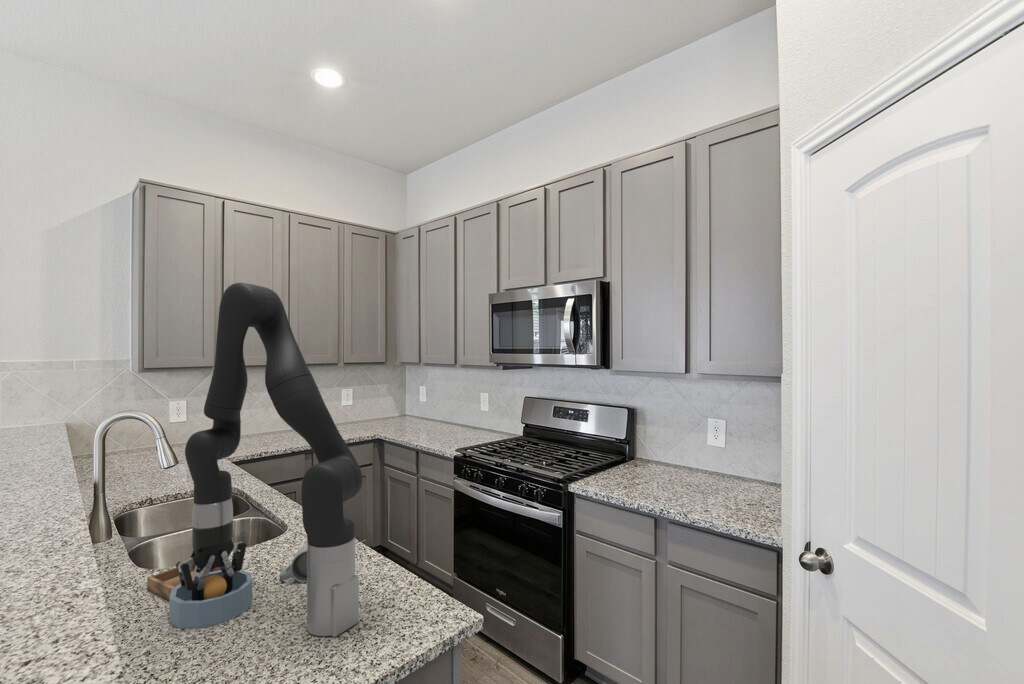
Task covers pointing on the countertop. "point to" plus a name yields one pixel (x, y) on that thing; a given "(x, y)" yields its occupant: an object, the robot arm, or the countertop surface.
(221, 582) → the ball
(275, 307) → the robot arm
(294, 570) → the ceramic mug
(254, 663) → the countertop surface
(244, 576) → the faceted grey bowl
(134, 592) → the countertop surface
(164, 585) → the tray
